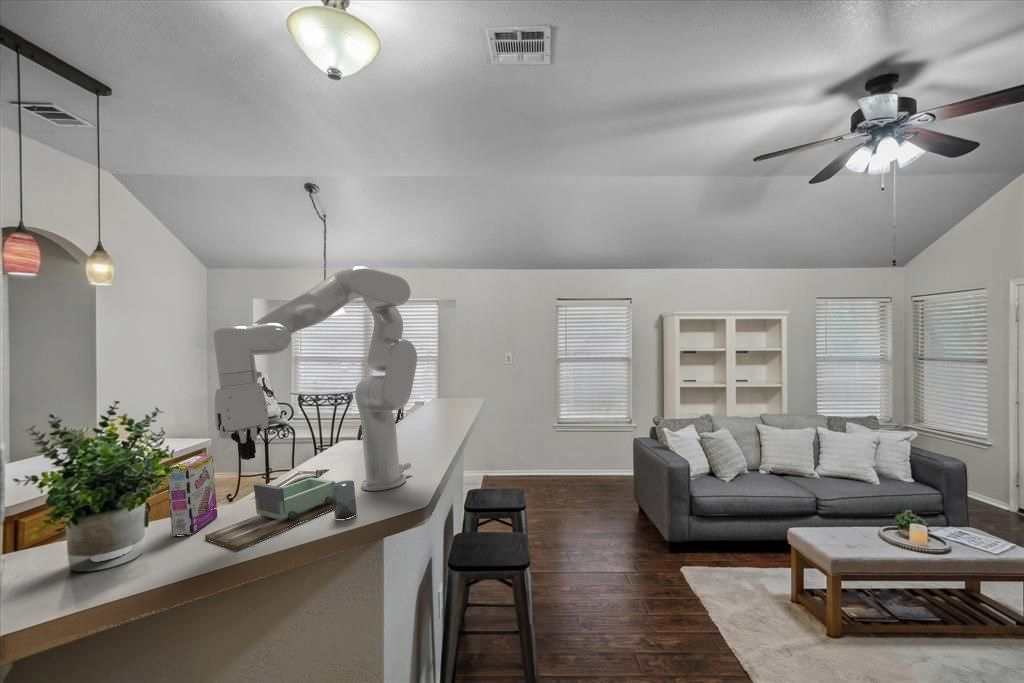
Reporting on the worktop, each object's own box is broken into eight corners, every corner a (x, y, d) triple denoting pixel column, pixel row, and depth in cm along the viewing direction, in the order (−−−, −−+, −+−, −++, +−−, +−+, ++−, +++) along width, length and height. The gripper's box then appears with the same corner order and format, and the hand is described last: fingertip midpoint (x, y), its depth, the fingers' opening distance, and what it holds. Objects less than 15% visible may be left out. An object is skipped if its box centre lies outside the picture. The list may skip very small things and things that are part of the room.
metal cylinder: (347, 511, 117) (345, 479, 117) (361, 514, 114) (358, 481, 114) (330, 518, 113) (327, 486, 113) (344, 522, 110) (341, 488, 110)
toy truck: (310, 494, 128) (307, 466, 128) (339, 500, 121) (336, 470, 121) (254, 515, 115) (251, 484, 115) (283, 523, 108) (280, 489, 108)
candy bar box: (194, 535, 109) (187, 466, 109) (171, 538, 109) (164, 468, 109) (219, 516, 121) (213, 453, 120) (199, 519, 120) (192, 455, 120)
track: (315, 497, 130) (313, 485, 130) (347, 503, 122) (346, 490, 122) (205, 539, 106) (203, 524, 106) (237, 551, 99) (236, 535, 99)
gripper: (261, 375, 116) (270, 448, 117) (194, 385, 103) (205, 467, 104) (278, 374, 112) (287, 450, 113) (211, 385, 99) (222, 470, 100)
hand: (248, 458), depth 108 cm, fingers closed
